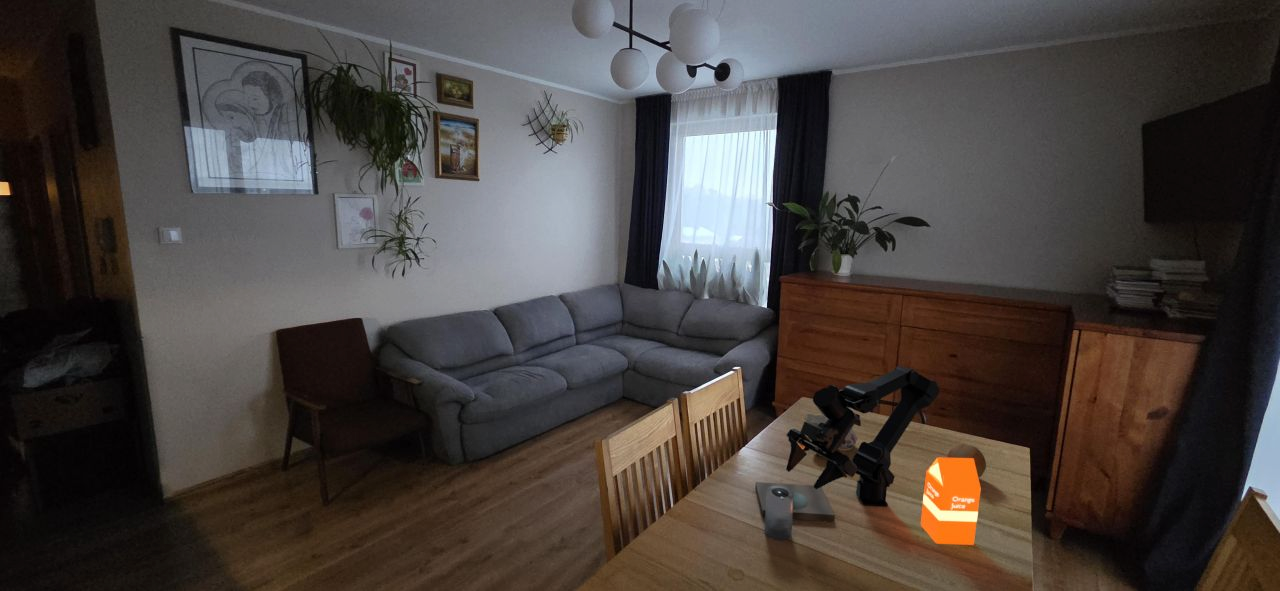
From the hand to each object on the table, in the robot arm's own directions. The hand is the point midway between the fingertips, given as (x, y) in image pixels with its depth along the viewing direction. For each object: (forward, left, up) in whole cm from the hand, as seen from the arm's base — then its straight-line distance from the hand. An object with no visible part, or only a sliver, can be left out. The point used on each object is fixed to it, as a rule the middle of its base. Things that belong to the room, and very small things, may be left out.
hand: (800, 479), depth 127 cm
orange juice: (-36, 0, -13) cm, 38 cm away
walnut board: (-1, -9, -12) cm, 16 cm away
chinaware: (-20, -49, -13) cm, 54 cm away
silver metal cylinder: (+5, +4, -12) cm, 14 cm away
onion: (-55, -30, -13) cm, 64 cm away
